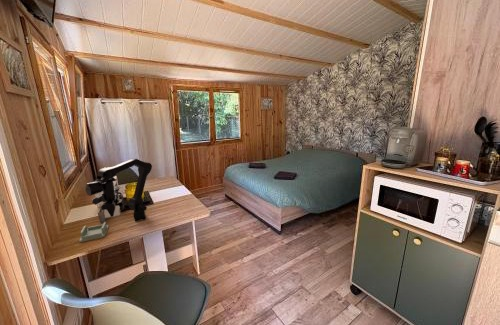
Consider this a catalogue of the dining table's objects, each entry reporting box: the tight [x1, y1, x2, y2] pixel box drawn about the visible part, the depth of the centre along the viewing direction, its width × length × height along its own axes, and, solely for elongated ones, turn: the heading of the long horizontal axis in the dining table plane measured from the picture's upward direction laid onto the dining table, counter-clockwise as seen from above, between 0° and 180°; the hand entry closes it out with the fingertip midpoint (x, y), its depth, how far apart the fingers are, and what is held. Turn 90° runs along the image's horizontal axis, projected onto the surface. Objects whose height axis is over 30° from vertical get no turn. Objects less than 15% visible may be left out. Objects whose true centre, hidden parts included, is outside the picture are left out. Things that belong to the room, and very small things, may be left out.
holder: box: [78, 221, 110, 243], centre depth 126 cm, size 12×13×4 cm
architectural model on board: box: [97, 204, 107, 224], centre depth 143 cm, size 11×3×10 cm, turn 27°
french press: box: [114, 185, 125, 212], centre depth 155 cm, size 12×9×23 cm
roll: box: [104, 205, 121, 219], centre depth 127 cm, size 7×6×6 cm
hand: (113, 214), depth 127 cm, fingers closed on roll, 6 cm apart
